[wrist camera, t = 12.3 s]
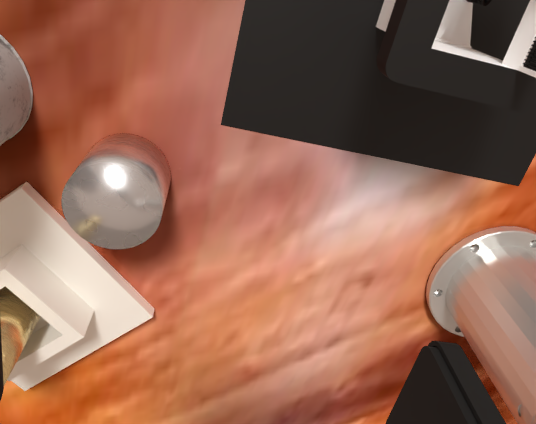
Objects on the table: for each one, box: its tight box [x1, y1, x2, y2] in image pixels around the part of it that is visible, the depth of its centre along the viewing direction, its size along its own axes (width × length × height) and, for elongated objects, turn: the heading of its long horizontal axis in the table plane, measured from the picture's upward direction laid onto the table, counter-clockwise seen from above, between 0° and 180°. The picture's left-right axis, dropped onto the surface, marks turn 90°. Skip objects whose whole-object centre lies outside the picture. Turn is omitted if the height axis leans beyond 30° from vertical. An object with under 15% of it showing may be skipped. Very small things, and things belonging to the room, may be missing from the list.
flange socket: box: [0, 182, 154, 391], centre depth 41 cm, size 16×16×5 cm
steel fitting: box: [62, 133, 171, 249], centre depth 36 cm, size 7×7×6 cm
